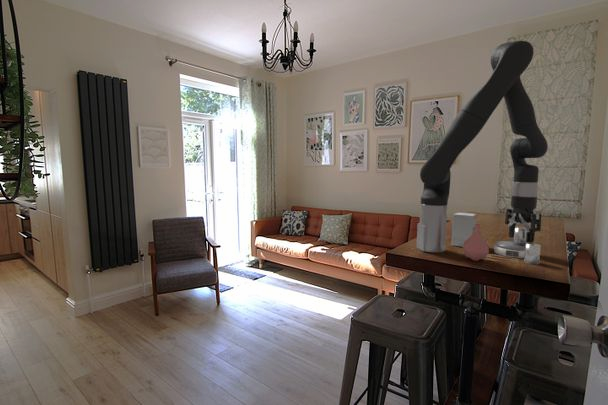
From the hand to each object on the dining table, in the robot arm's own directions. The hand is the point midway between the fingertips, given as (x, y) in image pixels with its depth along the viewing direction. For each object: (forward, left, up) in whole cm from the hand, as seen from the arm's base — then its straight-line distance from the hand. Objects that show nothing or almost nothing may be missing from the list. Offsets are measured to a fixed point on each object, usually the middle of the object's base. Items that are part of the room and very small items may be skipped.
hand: (520, 239), depth 113 cm
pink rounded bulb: (-21, -7, -5) cm, 22 cm away
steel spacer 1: (0, 0, -2) cm, 2 cm away
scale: (-3, 0, -5) cm, 6 cm away
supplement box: (-14, +13, -5) cm, 20 cm away
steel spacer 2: (-4, -11, -5) cm, 12 cm away
